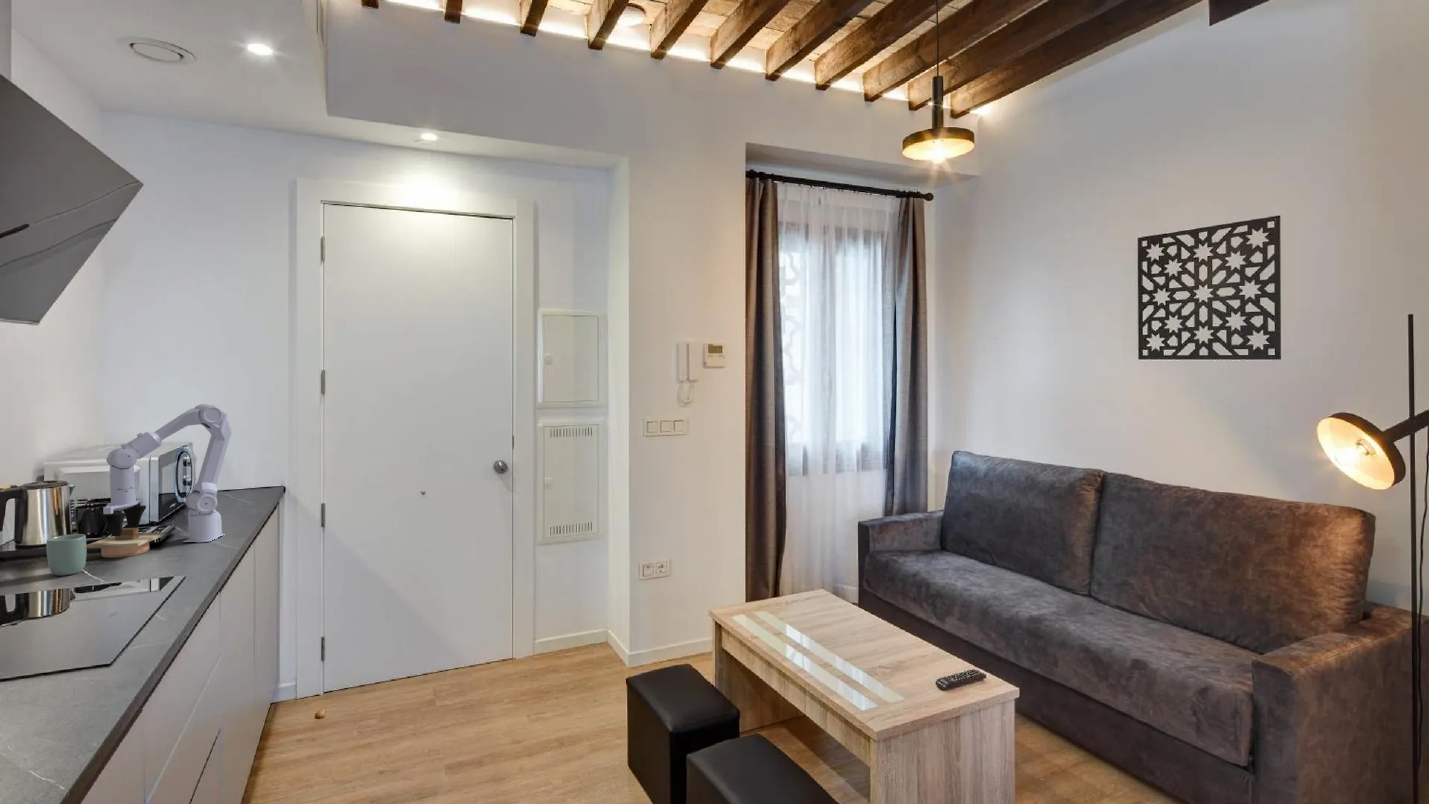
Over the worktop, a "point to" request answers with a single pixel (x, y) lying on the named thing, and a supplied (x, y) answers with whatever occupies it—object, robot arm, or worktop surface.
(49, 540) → the cup
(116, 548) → the dish
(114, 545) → the lid
